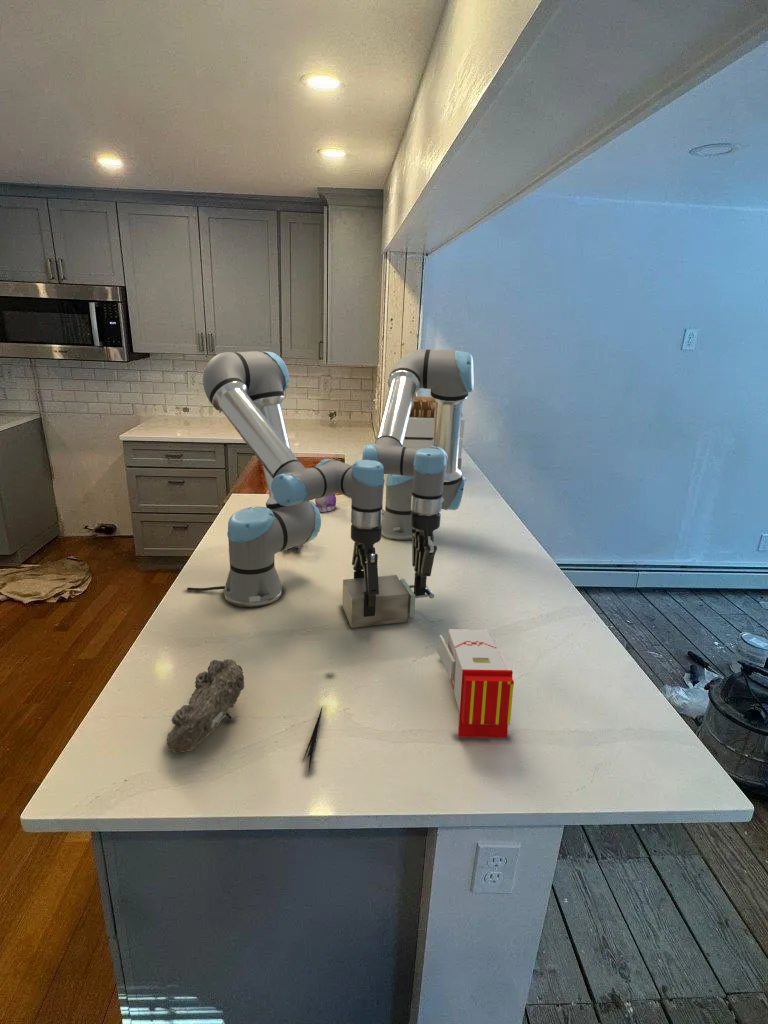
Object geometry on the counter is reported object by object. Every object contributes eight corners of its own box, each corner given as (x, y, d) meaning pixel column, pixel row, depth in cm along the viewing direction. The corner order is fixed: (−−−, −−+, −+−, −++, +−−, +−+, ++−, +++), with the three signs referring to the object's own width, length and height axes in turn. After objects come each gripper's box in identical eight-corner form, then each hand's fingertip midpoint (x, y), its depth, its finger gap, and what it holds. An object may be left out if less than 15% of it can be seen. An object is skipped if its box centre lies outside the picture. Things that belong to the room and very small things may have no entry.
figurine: (318, 514, 215) (318, 476, 210) (309, 505, 223) (309, 469, 218) (341, 511, 219) (342, 473, 214) (331, 503, 227) (331, 467, 222)
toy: (488, 613, 130) (523, 677, 101) (484, 667, 133) (517, 744, 104) (435, 612, 130) (455, 676, 101) (432, 666, 133) (451, 743, 103)
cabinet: (394, 601, 154) (396, 574, 151) (407, 621, 144) (408, 593, 141) (342, 606, 150) (342, 579, 147) (351, 627, 140) (352, 599, 137)
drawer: (422, 596, 155) (424, 576, 153) (435, 614, 146) (436, 593, 144) (355, 603, 150) (355, 582, 148) (363, 621, 141) (364, 600, 139)
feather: (331, 679, 122) (336, 673, 122) (307, 777, 96) (313, 769, 95) (324, 675, 122) (329, 669, 121) (298, 772, 95) (304, 764, 95)
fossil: (192, 660, 117) (244, 628, 112) (224, 691, 120) (276, 661, 115) (142, 746, 98) (202, 712, 93) (182, 779, 101) (242, 748, 96)
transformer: (382, 463, 289) (386, 382, 275) (445, 464, 293) (451, 384, 279) (390, 482, 257) (394, 392, 243) (460, 483, 261) (468, 394, 247)
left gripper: (395, 541, 128) (390, 626, 136) (369, 507, 149) (366, 582, 157) (362, 543, 126) (360, 629, 134) (341, 509, 147) (340, 585, 155)
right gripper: (449, 519, 136) (441, 606, 144) (431, 502, 148) (424, 583, 156) (420, 521, 134) (413, 609, 142) (403, 503, 146) (398, 585, 154)
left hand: (363, 604), depth 145 cm, fingers closed on cabinet, 11 cm apart
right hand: (419, 596), depth 149 cm, fingers closed
